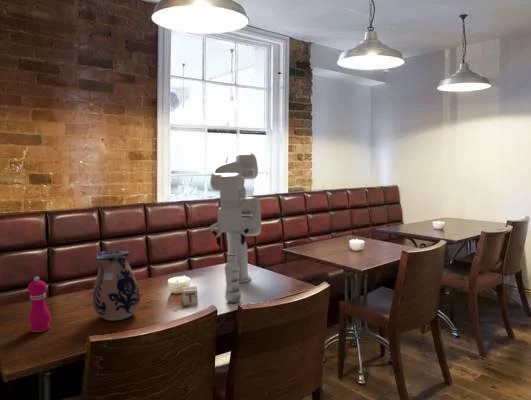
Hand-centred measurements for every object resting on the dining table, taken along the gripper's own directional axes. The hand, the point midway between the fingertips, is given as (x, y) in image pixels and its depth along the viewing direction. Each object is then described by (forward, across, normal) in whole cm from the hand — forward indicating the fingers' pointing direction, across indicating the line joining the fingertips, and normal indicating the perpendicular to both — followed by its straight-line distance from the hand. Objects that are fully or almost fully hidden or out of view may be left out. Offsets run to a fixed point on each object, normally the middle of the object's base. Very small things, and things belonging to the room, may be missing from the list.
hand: (231, 245), depth 176 cm
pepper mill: (+24, +72, +11) cm, 77 cm away
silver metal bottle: (+25, 0, +1) cm, 25 cm away
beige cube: (+25, +18, -4) cm, 31 cm away
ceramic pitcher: (+24, +47, +4) cm, 53 cm away
